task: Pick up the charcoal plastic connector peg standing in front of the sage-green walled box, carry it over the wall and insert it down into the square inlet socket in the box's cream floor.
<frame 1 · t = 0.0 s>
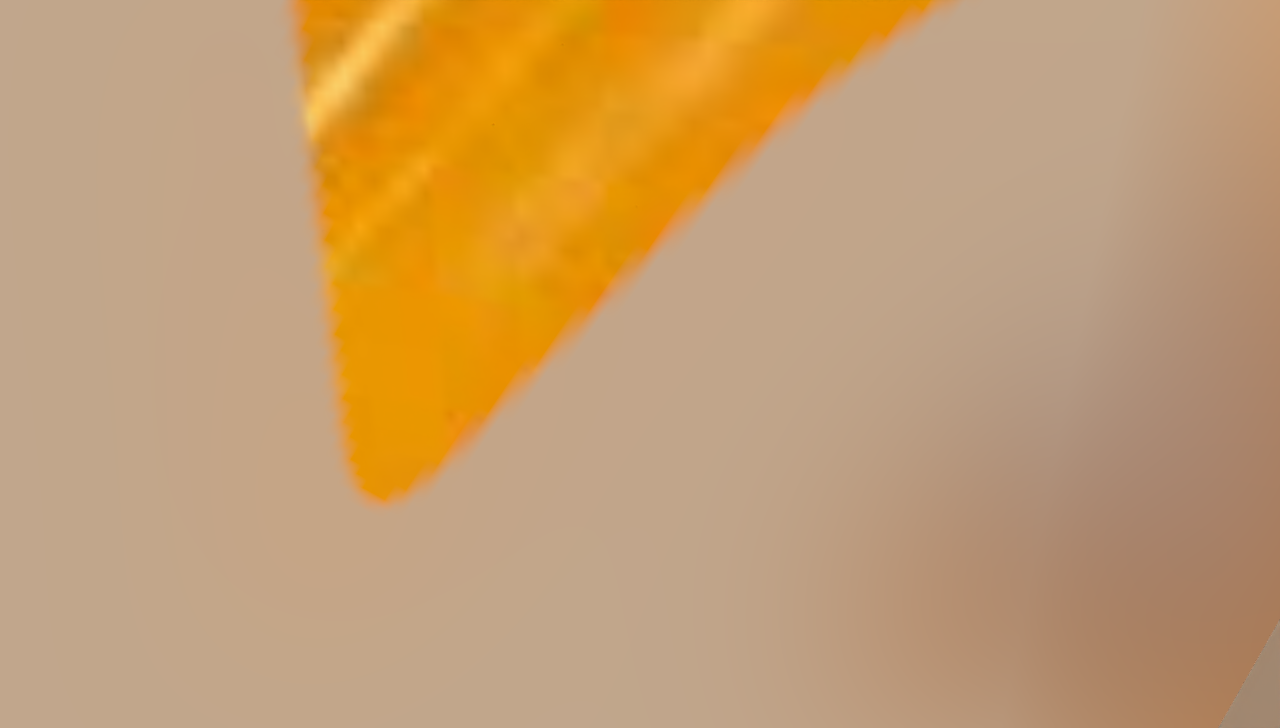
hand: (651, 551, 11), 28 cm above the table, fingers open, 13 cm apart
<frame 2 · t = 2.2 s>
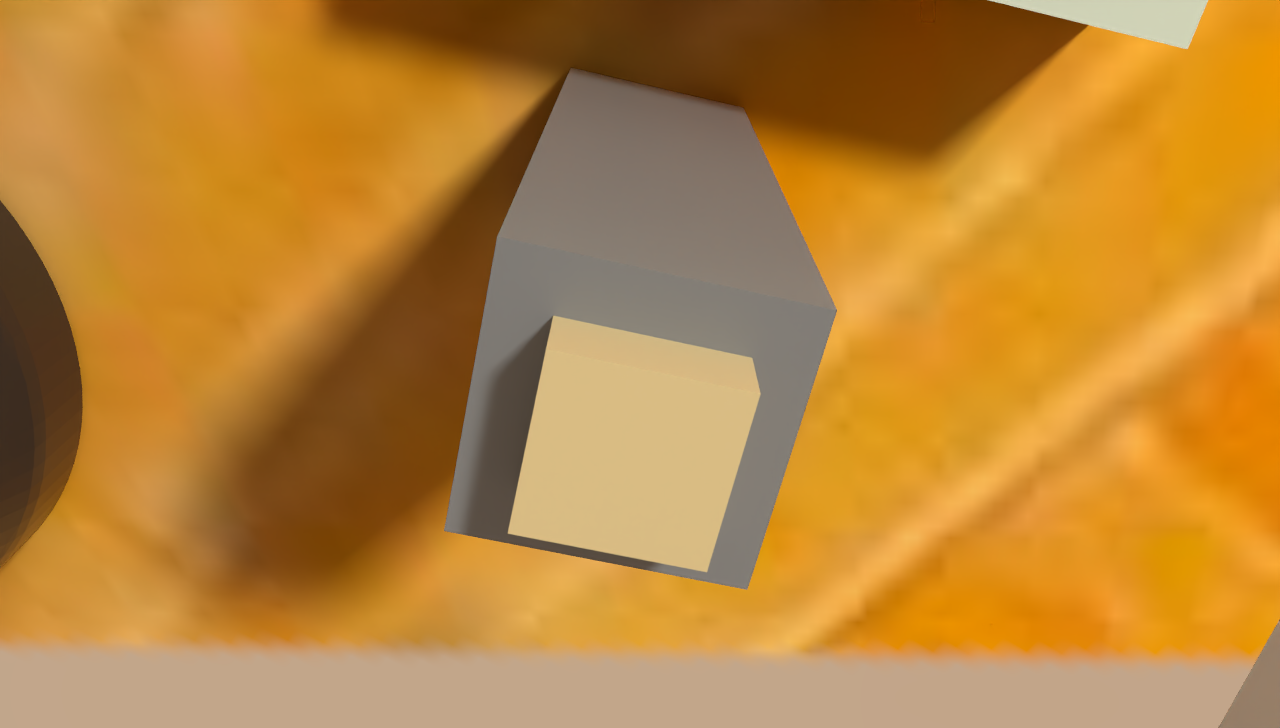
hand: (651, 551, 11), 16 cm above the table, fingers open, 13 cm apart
connector: (638, 173, 25), on the table
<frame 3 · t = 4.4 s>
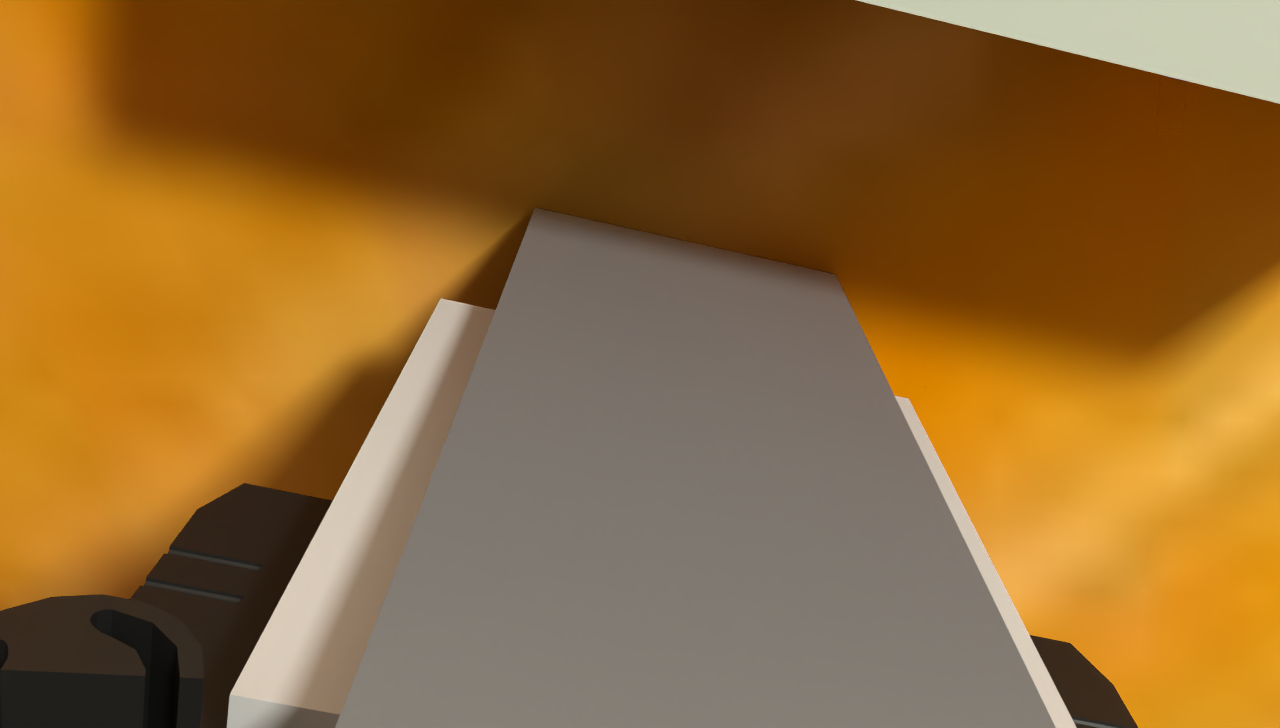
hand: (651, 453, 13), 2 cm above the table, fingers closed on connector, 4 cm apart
connector: (652, 378, 15), on the table, touching gripper
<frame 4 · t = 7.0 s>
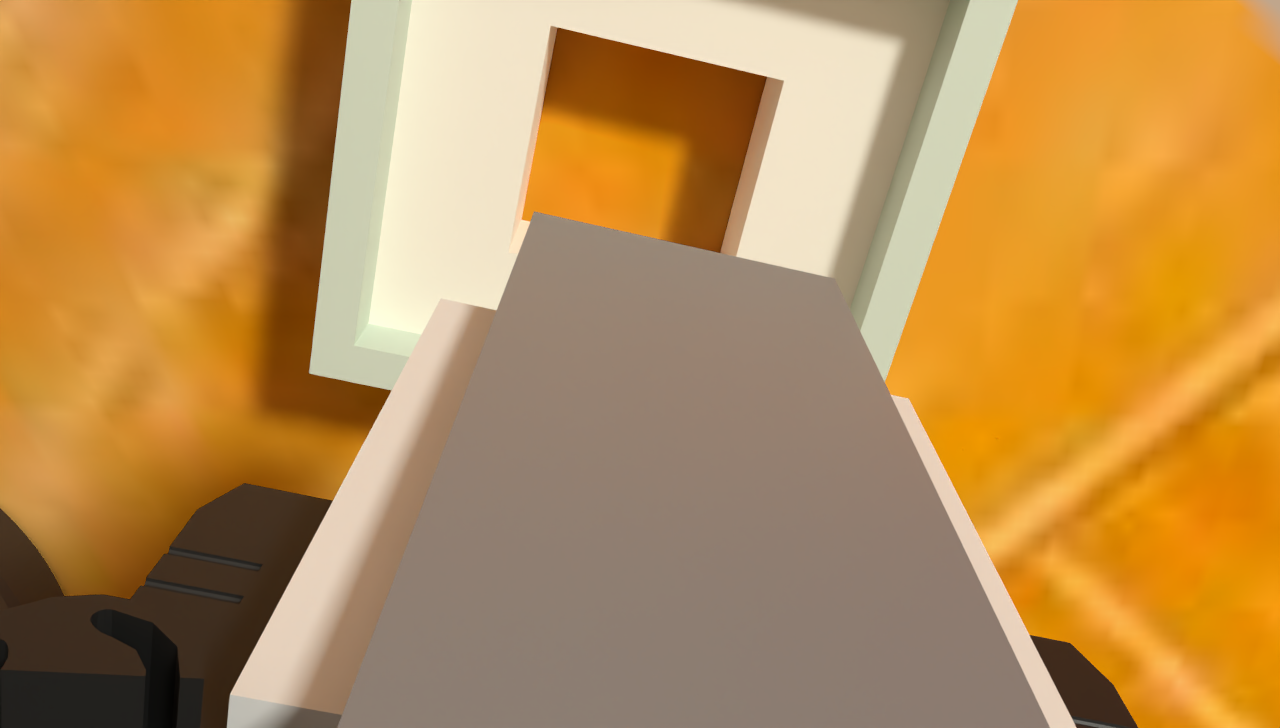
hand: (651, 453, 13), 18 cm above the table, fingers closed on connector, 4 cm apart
connector: (651, 382, 15), point 15 cm above the table, touching gripper
walled box: (642, 143, 29), on the table
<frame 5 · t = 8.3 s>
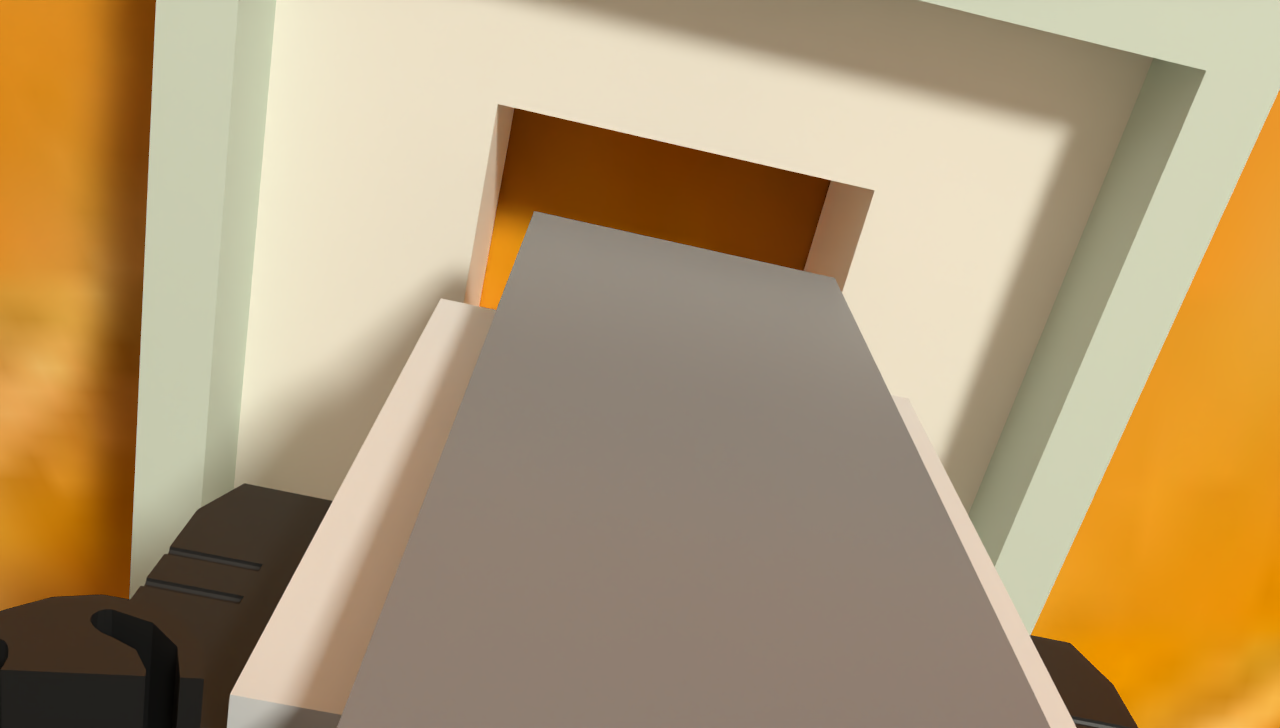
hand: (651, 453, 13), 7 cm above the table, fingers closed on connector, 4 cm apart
connector: (651, 382, 15), point 5 cm above the table, touching gripper
walled box: (646, 263, 19), on the table
when the fingers open (4 cm above the table, at t = 9.5 s): connector drops 2 cm, resting in walled box.
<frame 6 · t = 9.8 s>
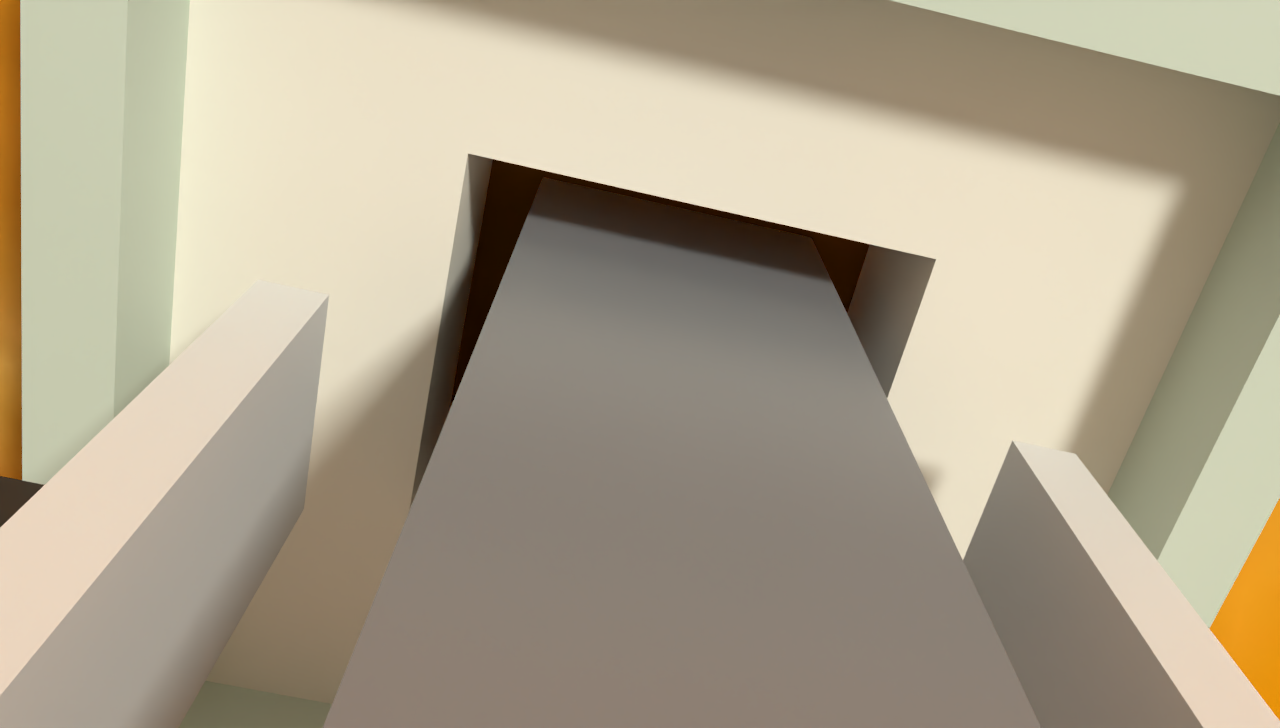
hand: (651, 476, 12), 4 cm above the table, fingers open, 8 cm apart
connector: (647, 332, 16), resting in walled box
walled box: (652, 330, 16), on the table
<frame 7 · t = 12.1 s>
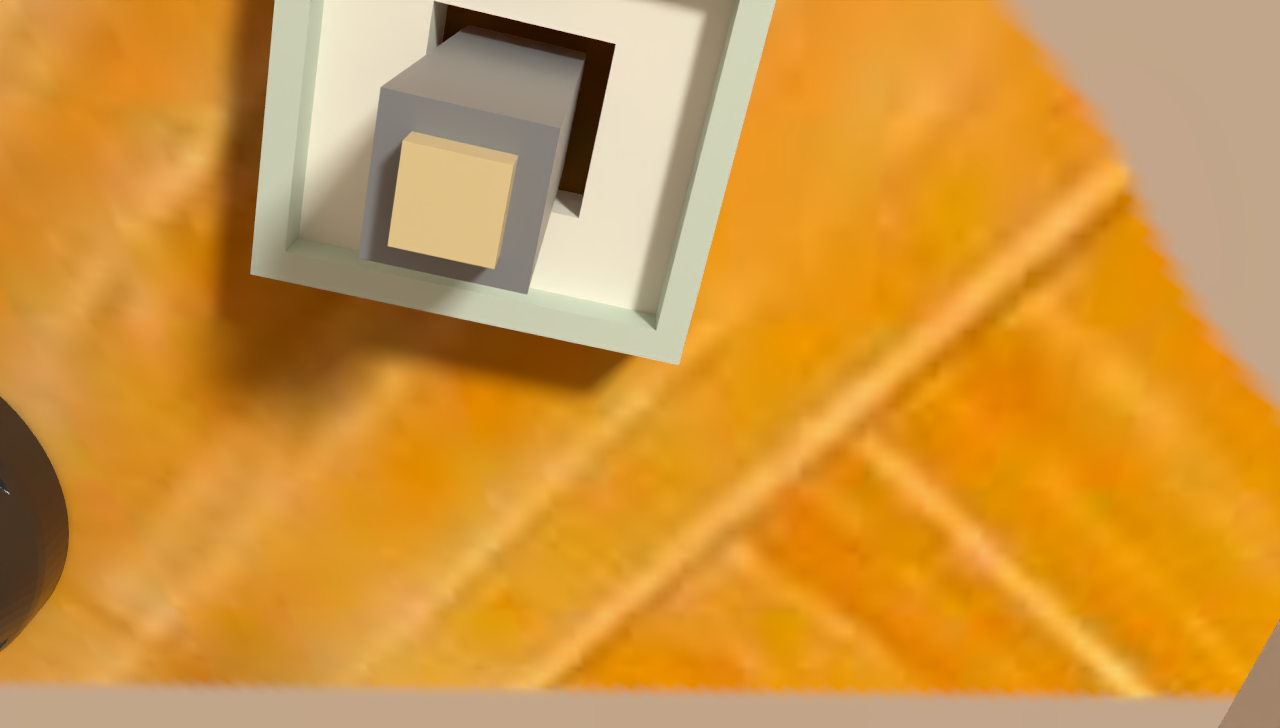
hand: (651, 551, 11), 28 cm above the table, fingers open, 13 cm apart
connector: (517, 98, 36), resting in walled box
walled box: (519, 97, 36), on the table
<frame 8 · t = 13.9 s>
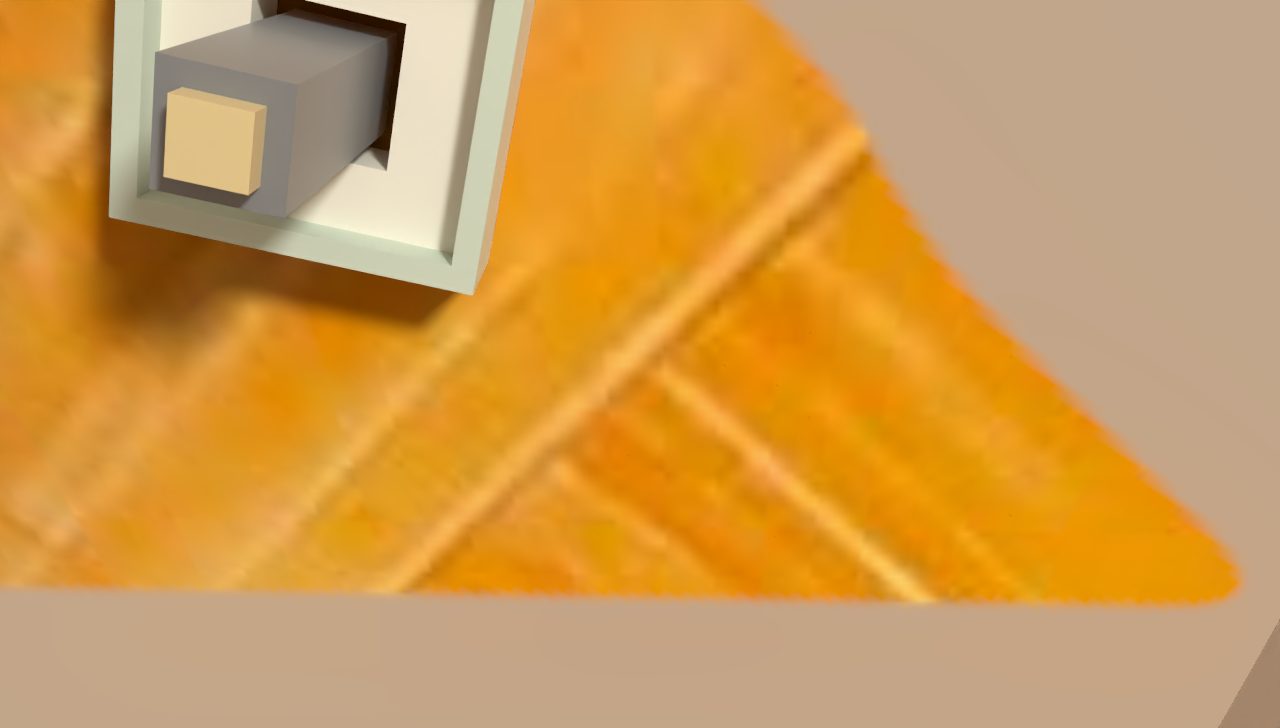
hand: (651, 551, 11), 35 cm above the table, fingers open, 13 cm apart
connector: (341, 71, 43), resting in walled box
walled box: (343, 70, 43), on the table
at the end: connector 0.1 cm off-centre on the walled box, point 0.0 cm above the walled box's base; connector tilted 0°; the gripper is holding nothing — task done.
